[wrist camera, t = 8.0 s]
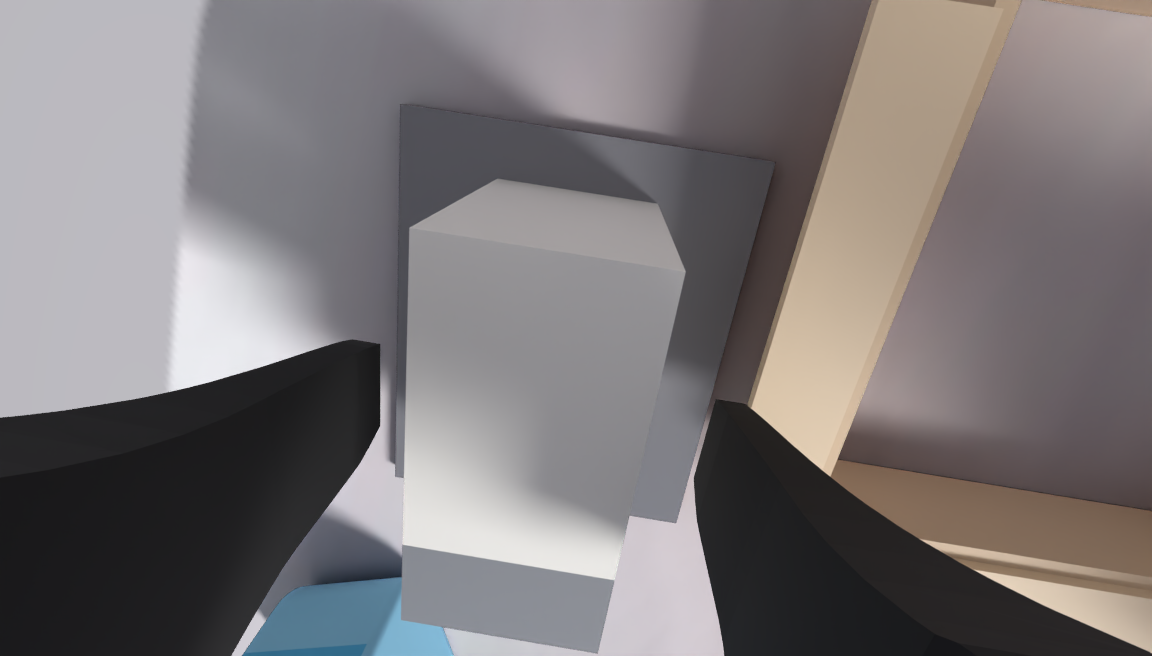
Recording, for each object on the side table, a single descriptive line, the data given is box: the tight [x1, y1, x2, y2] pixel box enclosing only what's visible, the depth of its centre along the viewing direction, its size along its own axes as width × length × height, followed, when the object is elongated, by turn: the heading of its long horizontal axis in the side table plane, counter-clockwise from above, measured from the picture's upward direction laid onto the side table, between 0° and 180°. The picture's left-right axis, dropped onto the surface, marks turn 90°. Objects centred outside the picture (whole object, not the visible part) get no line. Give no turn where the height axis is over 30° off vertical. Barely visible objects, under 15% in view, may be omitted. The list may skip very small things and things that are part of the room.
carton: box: [747, 0, 1152, 653], centre depth 12 cm, size 17×15×3 cm
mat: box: [395, 104, 776, 523], centre depth 15 cm, size 9×11×1 cm
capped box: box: [401, 179, 686, 654], centre depth 12 cm, size 4×8×6 cm, turn 172°
